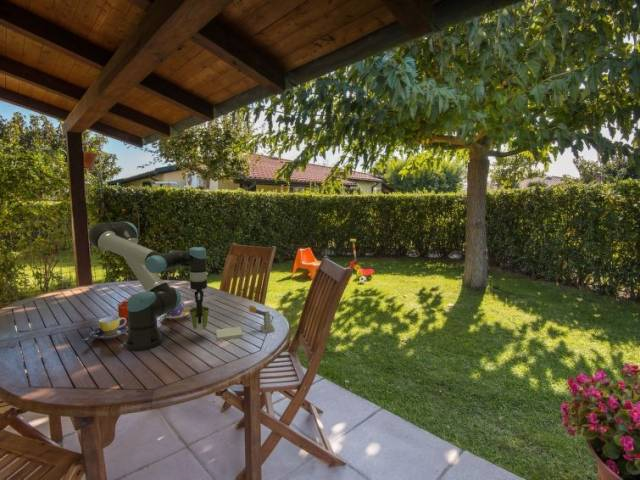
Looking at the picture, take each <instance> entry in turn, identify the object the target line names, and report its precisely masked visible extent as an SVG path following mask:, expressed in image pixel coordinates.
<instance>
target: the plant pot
mask: <svg viewBox="0 0 640 480" xmlns="http://www.w3.org/2000/svg"><path fill="white" fill-rule="evenodd" d="M210 310H211V308H210V307H208V306H202V314H203V329H205V328H207V327H208V319H209V317H208V316H209V313H210ZM188 313H189V315H190V318H191V322H192V328H193V329H194V330H195V329H196V330H197V318H196V317H195V316H196V315H197V309H196V306H195V307H192V308H190V309H189V310H188Z"/></svg>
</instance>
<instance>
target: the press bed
mask: <svg viewBox="0 0 640 480" xmlns="http://www.w3.org/2000/svg"><path fill="white" fill-rule="evenodd" d="M215 335H216V341H218V342H219V341H223V340H224V341H225V340H233V339H239V338H243V337H244V334H243V331H242V329H241V326H235V327H234V326H233V327H227V328H219V329H215Z"/></svg>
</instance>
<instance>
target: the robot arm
mask: <svg viewBox="0 0 640 480" xmlns="http://www.w3.org/2000/svg"><path fill="white" fill-rule="evenodd" d="M138 233H139V231H138V229H137V227H136V226H135V225H134V223H131V222H129V221H122V220H121V221H116V222H115V221H114V222H100V223H97V224H94V225H93V226H92V227H91V228H90V229H89V230H88V233H87V238H88V241H89V243H90V244H91V245H92V246H93V247H95V248H96V249H99V250H101V251H104V252H105V251H109V252H112V253H115V254H116V255H119V256H121V257H123V259H124V260H125V262H126V263H127V264H128V267H129V268H130V269H131V271H132V272H133V274H134V275H135V277H136V279H137V280H138V281H139V283H140V284H141V286H142V287H143V289H144V290H145V291H142V292H138V293H135V294H133V295H131V296H129V298H128V299H127V301H126V302H127V306H126V310H127V316H128V317H127V319H128V332H127V336H126V339H125V349H127V350H128V351H132V350H135V351H134V352H136V351H137V352H138V351H145V349H146V350H149V349H153V348H156V347H157V346H159V345H161V344H162V343H163V335H162V333H161V330H160V328H159V326H158V318H159V317H162V316H163V315H166V314H168V313H171V312H173V311H174V310H176V309H178V308H179V306H180V304H181V300H182V296H181V293H180V291H179V290H178V289H177V288H176V287H173V286H170V285H169V283H168V282H167V281H163V280H162V279H161V277H160V276H159V274H158V273H162V272H165V271H169V270H172V269H177V268H183V267H184V268H186V267H187V268H189V281H190V282H189V285H190V287H189V288H190V289H191V290H192V291H193V290H195V291H194V300H195V301H194V302H195V303H196V304H195V305H196V306H195V307H196V309H197V315H196V316H195V317H196V318H197V329H196V331H203V330H204V328H203V314H202V307H203V301H204V290H205V289H207V288H208V280H207V278H208V275H209V272H208V271H207V261H208V260H207V258H208V257H207V250H206V248H205V247H202V246H201V247H200V246H193V247H190V248H189V250H188V251H187V250H178V249H177V250H169V251H168V252H167V253H159V252H158V251H155V250H153V249H150V248H147V247H145V246H143V245H141V244H138V243H139V239H138V238H139V234H138Z"/></svg>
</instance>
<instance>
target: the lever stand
mask: <svg viewBox="0 0 640 480" xmlns="http://www.w3.org/2000/svg"><path fill="white" fill-rule="evenodd" d="M265 312H268V313H269V314H265V316H263V325H260V326H259V327H260V328H259V329H260V331H261V332H262V334H266V333H267V334H268V333H274V332H275V331H276V330H275V328H274V326H273V324H272V323H271V313H270V312H269V311H268V310H267V311H265Z"/></svg>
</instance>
